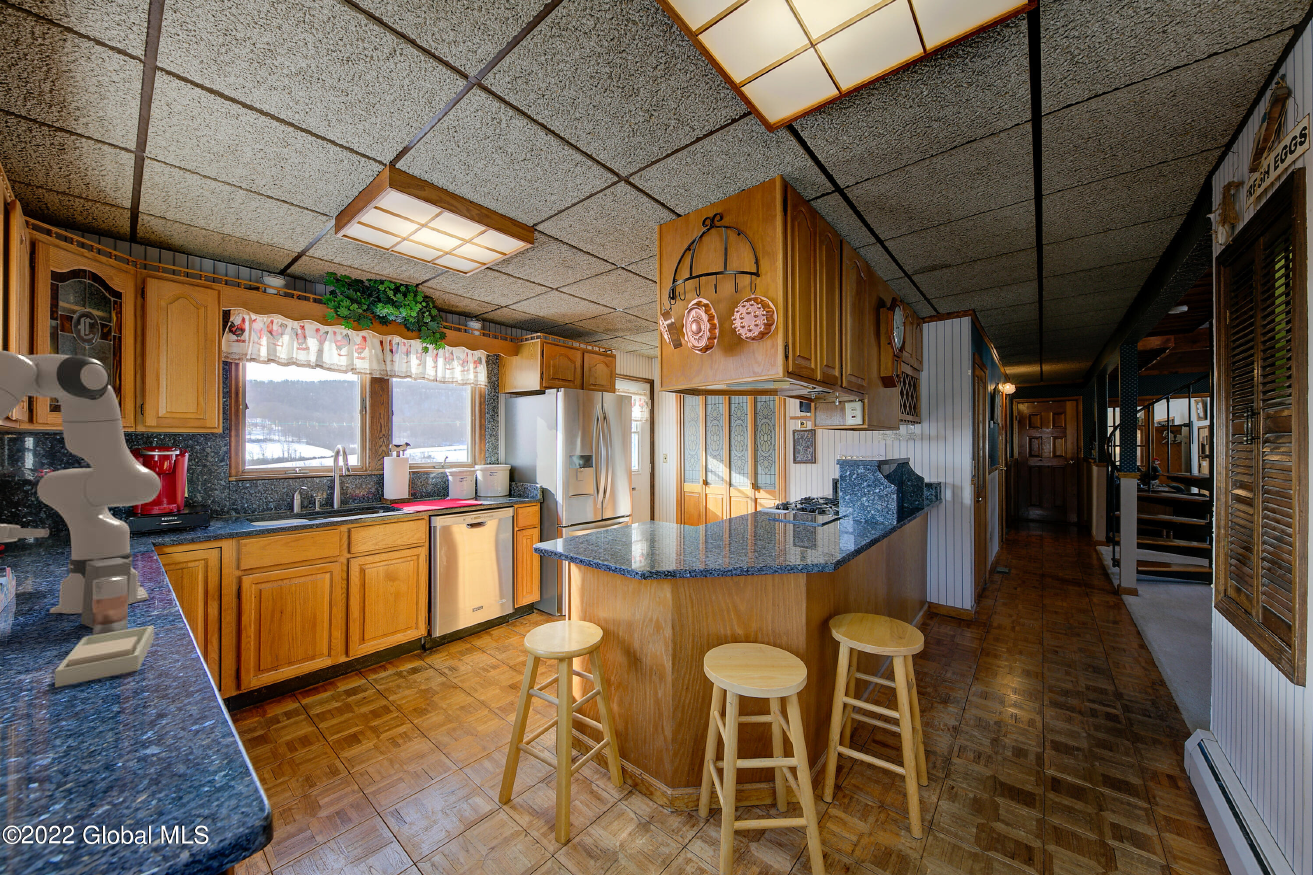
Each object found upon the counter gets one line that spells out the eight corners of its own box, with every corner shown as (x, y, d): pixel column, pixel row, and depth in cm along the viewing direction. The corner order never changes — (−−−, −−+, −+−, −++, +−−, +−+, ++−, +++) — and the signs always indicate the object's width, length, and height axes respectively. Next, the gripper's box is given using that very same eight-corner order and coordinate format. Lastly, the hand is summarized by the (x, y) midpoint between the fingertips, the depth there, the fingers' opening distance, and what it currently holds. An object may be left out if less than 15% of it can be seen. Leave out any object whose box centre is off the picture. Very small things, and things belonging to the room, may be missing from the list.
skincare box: (80, 624, 128) (80, 561, 128) (119, 615, 134) (119, 556, 134) (92, 629, 124) (92, 565, 124) (132, 620, 130) (132, 559, 130)
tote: (83, 655, 109) (83, 636, 109) (153, 642, 116) (153, 625, 116) (55, 692, 93) (55, 670, 93) (138, 674, 100) (138, 654, 100)
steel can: (95, 637, 119) (95, 578, 119) (129, 631, 123) (129, 574, 123) (89, 644, 115) (90, 583, 115) (125, 638, 118) (125, 579, 118)
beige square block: (79, 666, 101) (79, 646, 101) (137, 655, 106) (137, 636, 106) (68, 681, 95) (68, 660, 95) (130, 669, 100) (130, 648, 100)
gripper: (-68, 517, 97) (44, 517, 106) (-44, 519, 111) (53, 519, 120) (-76, 550, 96) (37, 548, 105) (-51, 548, 109) (48, 546, 119)
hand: (46, 532), depth 113 cm, fingers open, 8 cm apart
